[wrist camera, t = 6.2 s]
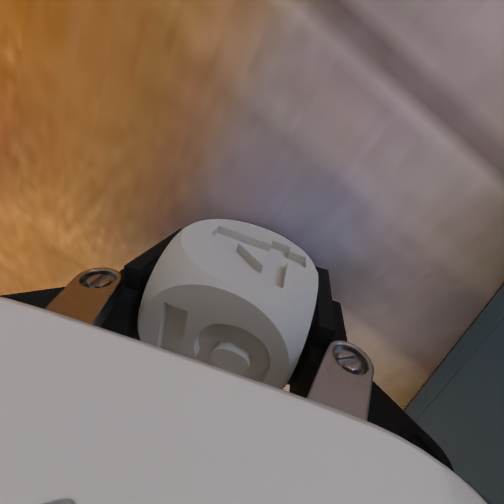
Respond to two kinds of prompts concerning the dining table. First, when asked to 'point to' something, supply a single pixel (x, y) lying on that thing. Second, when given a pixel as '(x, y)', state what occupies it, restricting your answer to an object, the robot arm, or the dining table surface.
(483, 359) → the chest
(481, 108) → the dining table surface
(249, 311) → the die
